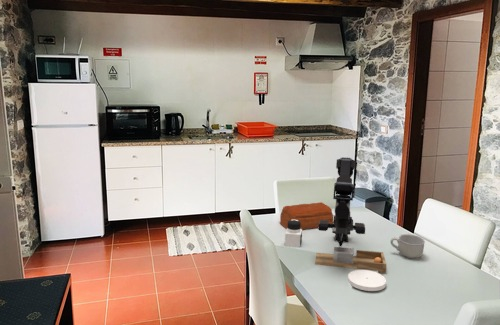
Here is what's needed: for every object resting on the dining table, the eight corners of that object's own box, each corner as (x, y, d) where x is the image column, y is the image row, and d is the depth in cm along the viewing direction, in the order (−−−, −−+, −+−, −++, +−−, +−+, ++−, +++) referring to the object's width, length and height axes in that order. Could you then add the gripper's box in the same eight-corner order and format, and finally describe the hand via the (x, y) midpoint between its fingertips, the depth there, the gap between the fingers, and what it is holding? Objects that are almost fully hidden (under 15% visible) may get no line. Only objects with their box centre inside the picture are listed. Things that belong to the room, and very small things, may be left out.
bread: (336, 226, 218) (337, 207, 216) (289, 232, 209) (290, 212, 207) (321, 217, 232) (322, 199, 230) (277, 222, 224) (278, 203, 221)
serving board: (316, 254, 183) (316, 246, 182) (382, 261, 177) (383, 252, 176) (314, 266, 171) (315, 257, 171) (385, 273, 166) (386, 264, 165)
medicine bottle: (300, 249, 189) (301, 224, 186) (284, 247, 190) (285, 222, 188) (301, 243, 195) (302, 219, 193) (286, 241, 197) (287, 217, 194)
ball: (373, 262, 174) (374, 255, 173) (380, 263, 173) (381, 256, 172) (373, 264, 171) (375, 258, 170) (381, 266, 170) (382, 259, 170)
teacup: (423, 253, 186) (425, 236, 184) (422, 262, 176) (424, 245, 174) (391, 247, 191) (392, 231, 190) (388, 256, 182) (389, 239, 180)
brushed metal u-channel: (334, 246, 177) (353, 248, 175) (333, 257, 178) (352, 259, 176) (334, 251, 172) (353, 253, 170) (333, 262, 173) (353, 264, 171)
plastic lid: (367, 272, 167) (367, 267, 167) (393, 288, 155) (394, 282, 154) (339, 280, 161) (340, 274, 160) (365, 297, 149) (365, 290, 148)
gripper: (318, 215, 165) (316, 251, 168) (367, 218, 161) (364, 256, 164) (319, 206, 175) (318, 241, 178) (365, 209, 172) (363, 245, 175)
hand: (340, 246), depth 174 cm, fingers closed
